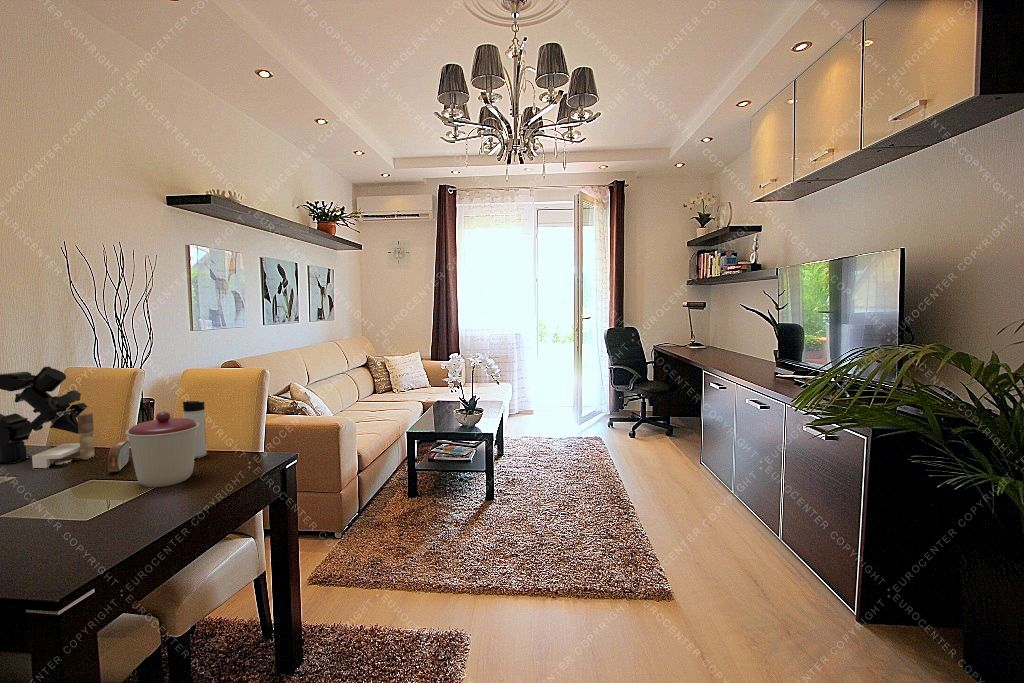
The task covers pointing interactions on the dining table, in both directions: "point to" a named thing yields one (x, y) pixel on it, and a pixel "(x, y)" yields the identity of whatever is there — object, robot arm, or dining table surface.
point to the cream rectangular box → (54, 454)
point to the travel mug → (197, 413)
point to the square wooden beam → (83, 438)
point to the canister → (163, 450)
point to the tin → (118, 455)
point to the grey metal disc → (63, 461)
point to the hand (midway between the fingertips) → (80, 432)
